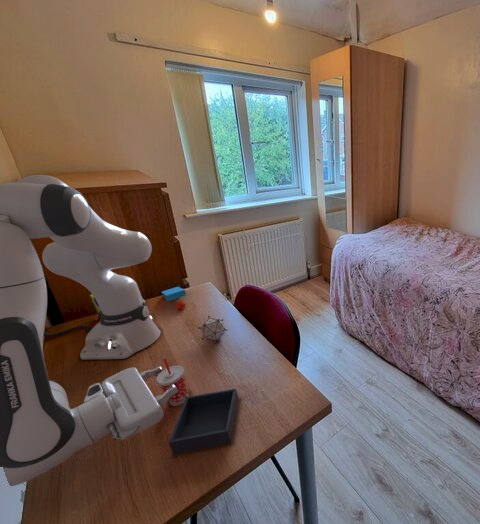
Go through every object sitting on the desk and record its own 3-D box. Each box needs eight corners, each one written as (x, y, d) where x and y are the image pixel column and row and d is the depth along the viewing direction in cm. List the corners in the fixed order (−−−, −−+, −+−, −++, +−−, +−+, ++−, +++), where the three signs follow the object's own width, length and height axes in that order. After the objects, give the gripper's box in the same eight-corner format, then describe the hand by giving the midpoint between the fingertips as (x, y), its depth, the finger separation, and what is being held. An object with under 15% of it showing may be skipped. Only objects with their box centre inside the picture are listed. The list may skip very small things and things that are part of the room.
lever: (166, 306, 128) (173, 313, 115) (161, 291, 127) (167, 296, 113) (183, 300, 133) (191, 306, 119) (178, 286, 131) (186, 290, 117)
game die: (214, 344, 103) (205, 318, 104) (235, 336, 103) (226, 310, 104) (198, 349, 94) (189, 321, 96) (220, 340, 94) (211, 312, 95)
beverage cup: (190, 404, 76) (176, 364, 70) (164, 411, 74) (147, 371, 68) (193, 387, 81) (180, 348, 75) (168, 393, 79) (153, 354, 74)
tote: (174, 455, 64) (168, 442, 62) (190, 408, 75) (186, 396, 73) (231, 443, 66) (227, 431, 64) (239, 399, 77) (236, 388, 75)
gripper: (109, 434, 57) (182, 390, 67) (88, 382, 69) (152, 351, 79) (120, 454, 60) (188, 409, 69) (98, 400, 72) (158, 368, 81)
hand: (169, 378), depth 74 cm, fingers open, 8 cm apart
